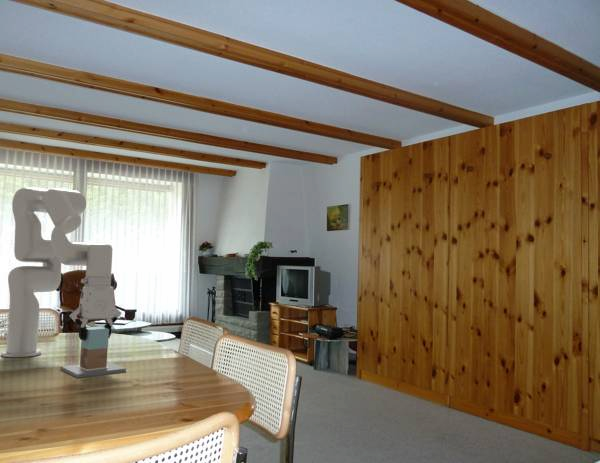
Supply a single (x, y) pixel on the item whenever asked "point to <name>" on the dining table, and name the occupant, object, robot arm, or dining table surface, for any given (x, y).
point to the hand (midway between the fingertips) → (94, 338)
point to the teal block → (96, 338)
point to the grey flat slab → (92, 370)
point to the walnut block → (93, 358)
